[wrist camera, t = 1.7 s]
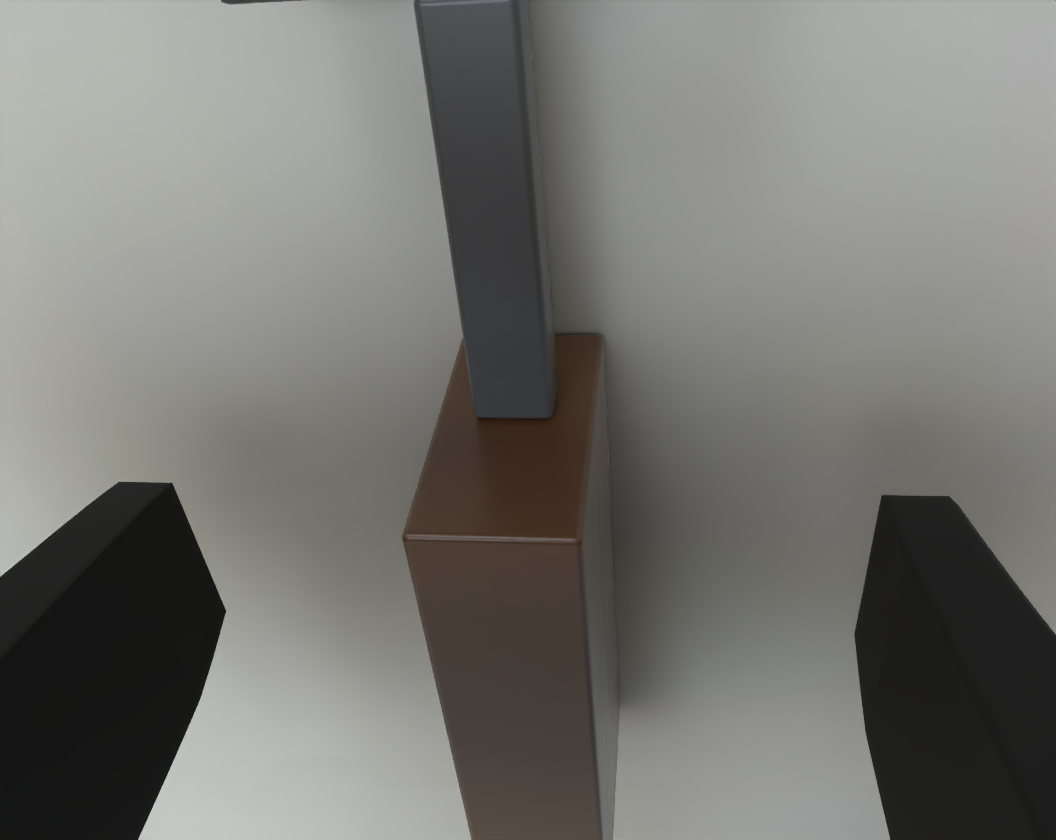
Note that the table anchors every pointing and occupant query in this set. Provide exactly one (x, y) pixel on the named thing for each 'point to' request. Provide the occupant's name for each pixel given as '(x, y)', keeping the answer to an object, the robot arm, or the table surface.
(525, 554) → the fork
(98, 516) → the robot arm
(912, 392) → the table surface
